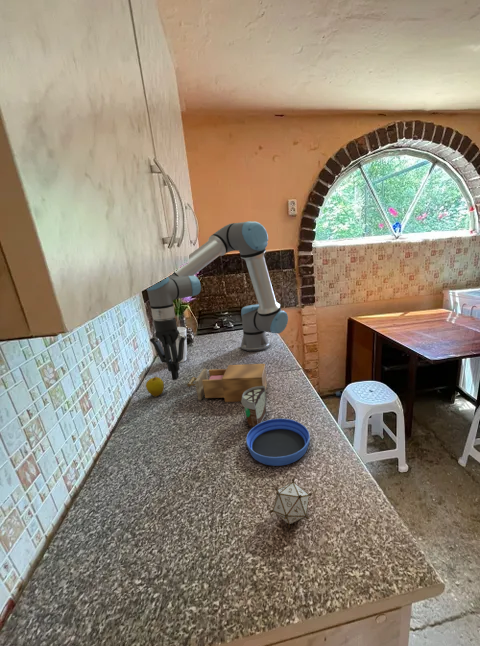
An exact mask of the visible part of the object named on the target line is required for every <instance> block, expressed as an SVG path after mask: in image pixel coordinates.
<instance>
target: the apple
mask: <svg viewBox="0 0 480 646" xmlns="http://www.w3.org/2000/svg"><path fill="white" fill-rule="evenodd" d="M145 388H146V391H147V392H148V393H149V394H150V395H151V396H153V397H155V398H156V397H159V396H161V395H162V394H163V392H164V390H165V389H164V388H165V383H164V380H163V379H162V378H161V377H158V376H154V377H151V378H149V379H148V380H147V381H146V383H145Z"/></svg>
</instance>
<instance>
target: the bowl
mask: <svg viewBox="0 0 480 646" xmlns="http://www.w3.org/2000/svg"><path fill="white" fill-rule="evenodd" d="M245 441H246V447H247V449H248V451H249V454H250V455H251V457H252V458H253V459H254V460H256V461H257V462H259V463H260V464H264V465H266V466H273V467H279V466H280V467H281V466H286V465H290V464H294V463H295V462H297V461H298V460H300V459H301V458H302V457H304V456H305V454H306V452H307V451H308V448H309V445H310V441H311V436H310V432H309V430H308V428H307V426H305V425H303V424H302V423H301V422H299V421H296V420H294V419H290V418H272V419H271V418H270V419H267V420H263V421H262V422H261V423H259V424H258V425H256V426H255V427H253V428H252V427H251V429H250V430H249V431H248V433H247V435H246V440H245Z"/></svg>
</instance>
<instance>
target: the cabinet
mask: <svg viewBox="0 0 480 646" xmlns="http://www.w3.org/2000/svg"><path fill="white" fill-rule="evenodd" d="M225 369H226V371H225V373H224V375H223V377H222V384H223V391H224V397H223V399H224V403H235V402H240V403H241V400H242V395H243V393H244V392H245V391H246V390H248V389H250V388H253V387H257V386H265V389H266V391H265V393H266V392H267V387H268V384H267V370H266V363H250V364H249V363H246V364H245V363H244V364H228V365H227V367H226V368H225Z"/></svg>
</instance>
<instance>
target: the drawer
mask: <svg viewBox="0 0 480 646" xmlns="http://www.w3.org/2000/svg"><path fill="white" fill-rule="evenodd" d="M226 369H227V368H213V369H212V368H211V369H207V368H202V370H201V372H200V373H199V375H198V376H197V377H195V376H192V377H190V378H191V379H190V380H189V381H188V383H187V384H186V386H187V387H188V388H191V387H193V386H194V387H195V390H196V394H197V400H198V401H201V400H202V399H203V398H205V399H216V398H217V399H219V398H221V399H222V398H223V399H224V391H223V384H222V379H211V380H209V378H210V377H211V376H218V375H224V373H225V371H226ZM208 375H209V376H208Z"/></svg>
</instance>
